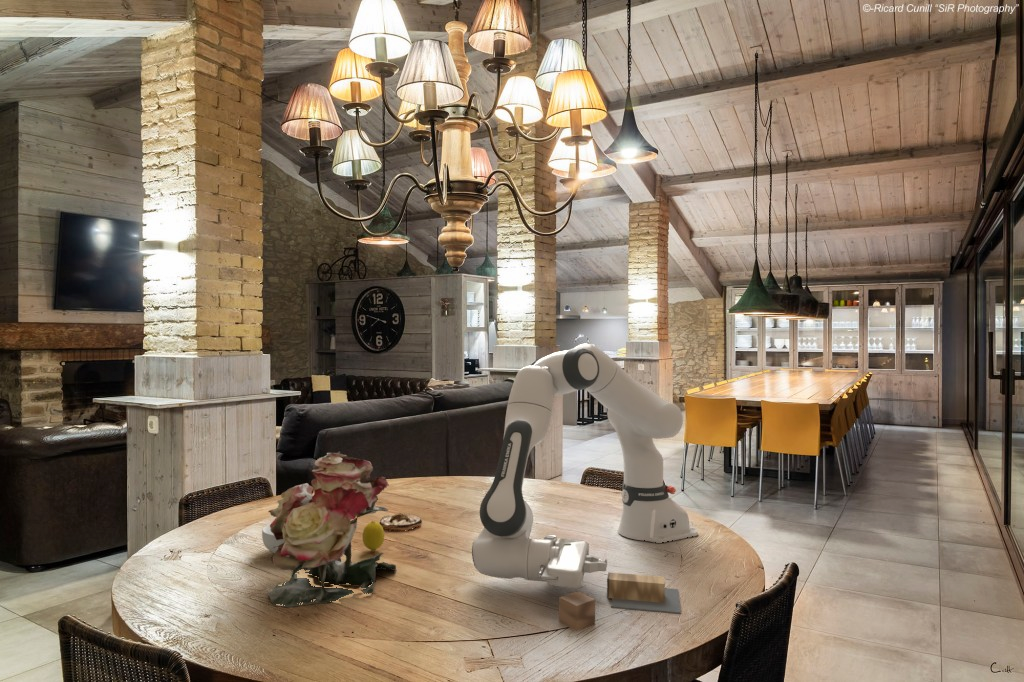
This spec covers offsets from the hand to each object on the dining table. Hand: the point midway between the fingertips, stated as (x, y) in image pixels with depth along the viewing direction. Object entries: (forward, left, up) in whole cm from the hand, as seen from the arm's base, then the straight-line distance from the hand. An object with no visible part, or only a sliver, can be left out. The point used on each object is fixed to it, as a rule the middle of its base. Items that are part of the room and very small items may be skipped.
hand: (606, 565), depth 137 cm
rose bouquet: (+58, -24, -7) cm, 63 cm away
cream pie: (+35, -65, -7) cm, 74 cm away
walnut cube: (+11, +10, -7) cm, 17 cm away
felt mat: (-7, +4, -7) cm, 11 cm away
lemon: (+45, -44, -7) cm, 64 cm away
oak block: (0, 0, -4) cm, 4 cm away
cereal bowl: (+64, -49, -7) cm, 81 cm away
